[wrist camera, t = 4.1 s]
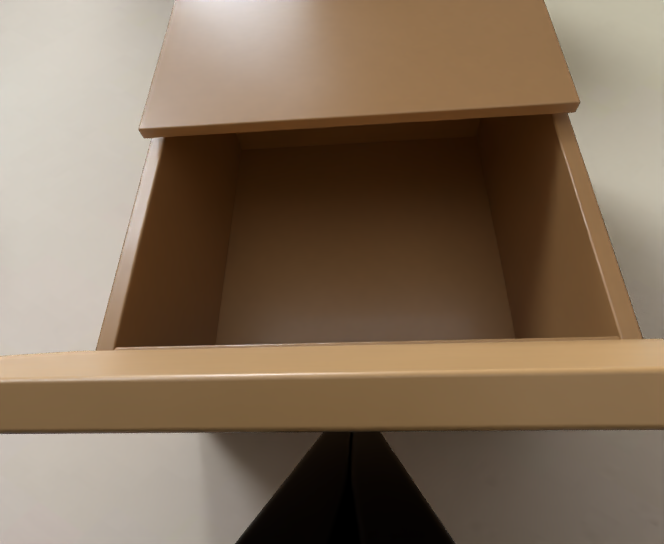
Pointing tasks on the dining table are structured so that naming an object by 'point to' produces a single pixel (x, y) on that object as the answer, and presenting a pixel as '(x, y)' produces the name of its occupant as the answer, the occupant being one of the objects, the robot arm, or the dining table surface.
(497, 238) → the carton
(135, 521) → the dining table surface
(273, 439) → the dining table surface
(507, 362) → the flap
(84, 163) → the dining table surface
